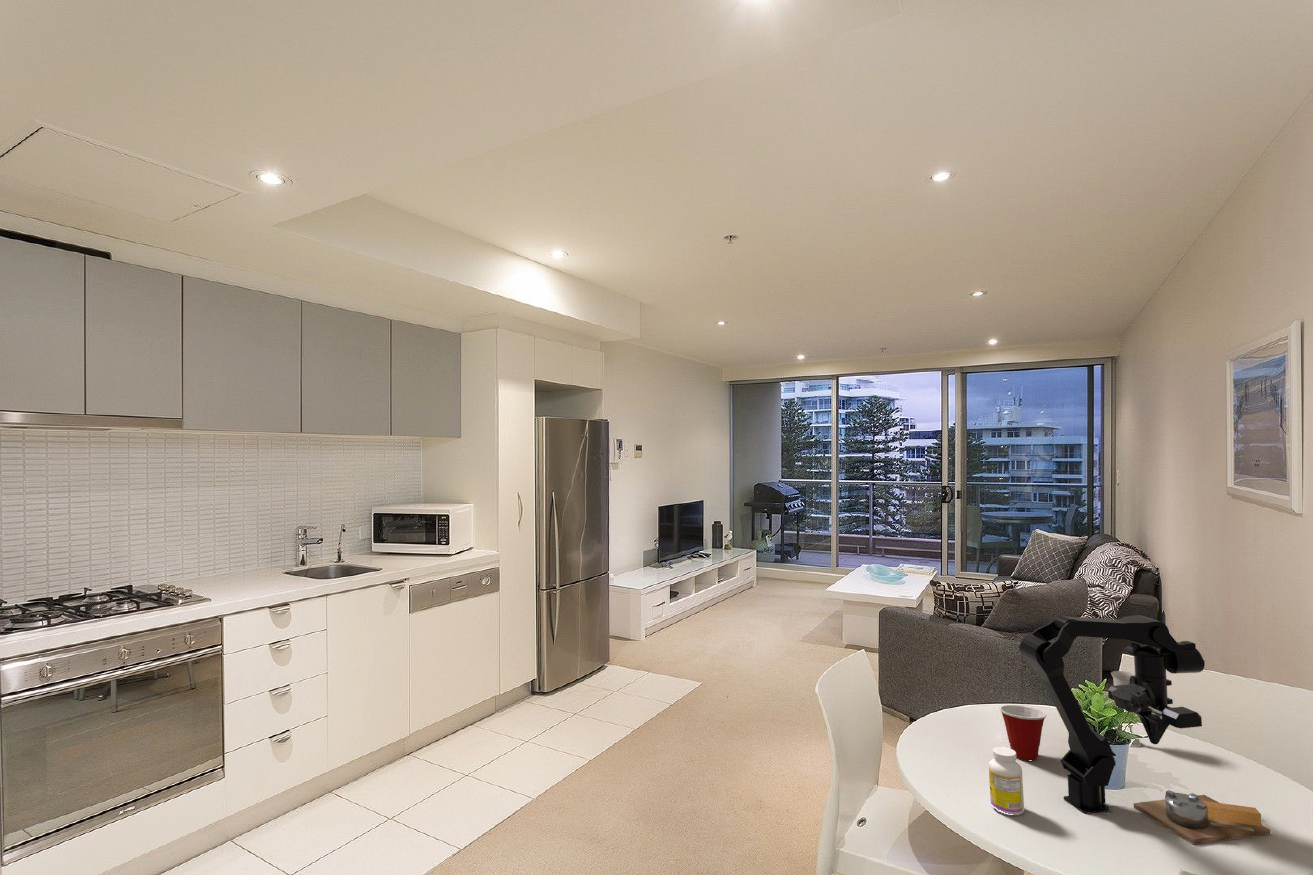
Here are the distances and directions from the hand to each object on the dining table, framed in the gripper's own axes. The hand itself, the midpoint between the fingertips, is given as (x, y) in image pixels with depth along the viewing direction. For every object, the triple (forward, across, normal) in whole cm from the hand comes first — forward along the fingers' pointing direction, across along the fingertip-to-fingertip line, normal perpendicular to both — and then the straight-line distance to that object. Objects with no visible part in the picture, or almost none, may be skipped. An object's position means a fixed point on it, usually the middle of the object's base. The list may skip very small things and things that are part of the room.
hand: (1154, 743), depth 148 cm
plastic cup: (+13, -26, -13) cm, 32 cm away
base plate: (+13, +8, +2) cm, 15 cm away
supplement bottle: (+13, -4, -34) cm, 37 cm away
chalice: (+13, -27, +19) cm, 36 cm away
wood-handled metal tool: (+12, +11, +2) cm, 16 cm away
